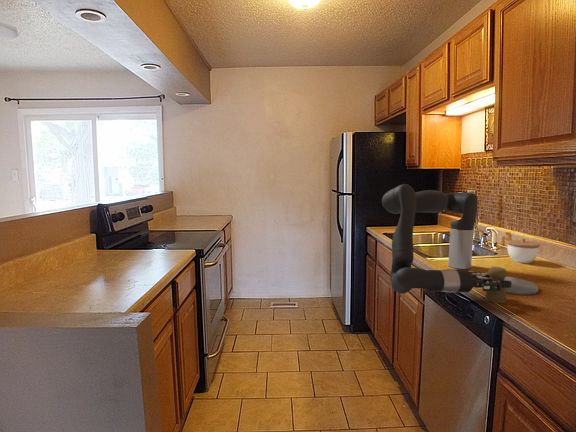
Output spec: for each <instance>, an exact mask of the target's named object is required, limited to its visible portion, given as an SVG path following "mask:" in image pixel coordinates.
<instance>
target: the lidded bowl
mask: <svg viewBox="0 0 576 432" xmlns="http://www.w3.org/2000/svg"><path fill="white" fill-rule="evenodd" d="M540 246H541V245H540V243H538V242H536V241H535V242H534V241H530V240H526V238H521V240H520V239H519V240H518V239H512V240H507V253H508V256H509V257H510V259H511V260H512V261H513V262H515V263H519V264H531V263H532V262H533V261H534V260H536V259H537V257H538V255H539V253H540V252H539V250H540Z"/></svg>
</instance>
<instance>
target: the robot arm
mask: <svg viewBox="0 0 576 432" xmlns="http://www.w3.org/2000/svg"><path fill="white" fill-rule="evenodd" d="M478 202H479V201H478V196H477V194H475V193H473V192H459V191H457V192H449V193H444V192H443V191H441V190H433V189H430V190H429V189H427V190H421V191H415V189H414V188H413V187H412V186H411V185H410V184H407V183H402V184H400V185H397V186H396V187H394V188H392V189H390V190H388V191H386V193H384V194H383V196H382V198H381V205H382V207H383V208H384V209H385V211H387V212H388V213H390V214H394V215H398V214H400V216H399V218H398V223H397V225H396V227H395V230H394V233H393V235H392V240H391V258H392V261H391V270H390V285H391V287H392V289H393V291H395V292H396V293H398V294H404V295H405V294H406V293H408V292H410V291H411V290H412V289H422V290H423V291H425V292H443V293H444V292H445V293H470V292H472V290H473V288H475V289H479V290H480V289H482V292H486V291H501V288H511V283H512V282H511V281H499V280H492V279H491V278H490V276H489V273H488V274H487V273H485V272H484V273H482V271H469V270H470V269H471V268H472V260H473V248H474V247H473V246H474V245H473V244H474V231H475V230H474V229H475V224H476V220H477V212H478ZM443 211H446V212H450V213H455V214H462V216H461V218H459V219H457V220H453V221H451V223H450V231H449V247H448V249H449V250H448V261H447V263H448V267H450V268H449V269H448V268H447V269H422V268H418V267H412V264H413V262H414V259H415V258H414V257H415V255H414V241H413V239H414V238H413V237H414V225H415V219H416V213H423V214H424V213H425V214H426V213H427V214H431V213H432V214H437V213H441V212H443ZM451 268H452V269H451ZM453 268H454V269H453ZM487 281H489V283H487ZM495 285H496V286H495Z"/></svg>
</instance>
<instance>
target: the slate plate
mask: <svg viewBox="0 0 576 432" xmlns="http://www.w3.org/2000/svg"><path fill="white" fill-rule="evenodd" d="M504 281H511V282H512V283H511V288H505V294H511V295H519V296H521V295H523V296H524V295H530V296H531V295H535V294H537V293H538V292H539V285H537V284H535V283H534V282H532V281H530V280H529V281H528V280H525V279H521V278H518V277H510V276H506V277H505V278H504ZM487 283H489V281H487Z"/></svg>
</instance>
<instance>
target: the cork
mask: <svg viewBox="0 0 576 432" xmlns="http://www.w3.org/2000/svg"><path fill="white" fill-rule="evenodd" d="M507 273H508V271H507V270H506V269H505V268H503V267H500V266H491V267H490V268H489V269H488V274H489V276H490V278H491V279H492V280H499V281H504V278H505V277H507V276H508V274H507ZM495 286H496V285H495ZM506 296H507V295H506V293H505V288H501V291H485V295H484V300H486V301H488V302H492V303H496V304H505V303H506V302H507V297H506Z"/></svg>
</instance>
